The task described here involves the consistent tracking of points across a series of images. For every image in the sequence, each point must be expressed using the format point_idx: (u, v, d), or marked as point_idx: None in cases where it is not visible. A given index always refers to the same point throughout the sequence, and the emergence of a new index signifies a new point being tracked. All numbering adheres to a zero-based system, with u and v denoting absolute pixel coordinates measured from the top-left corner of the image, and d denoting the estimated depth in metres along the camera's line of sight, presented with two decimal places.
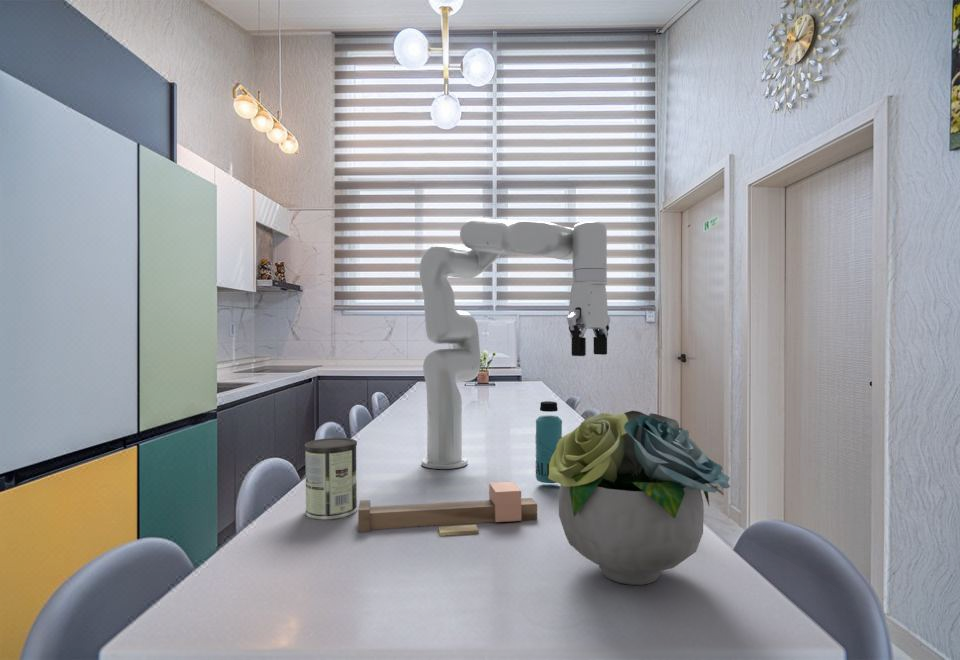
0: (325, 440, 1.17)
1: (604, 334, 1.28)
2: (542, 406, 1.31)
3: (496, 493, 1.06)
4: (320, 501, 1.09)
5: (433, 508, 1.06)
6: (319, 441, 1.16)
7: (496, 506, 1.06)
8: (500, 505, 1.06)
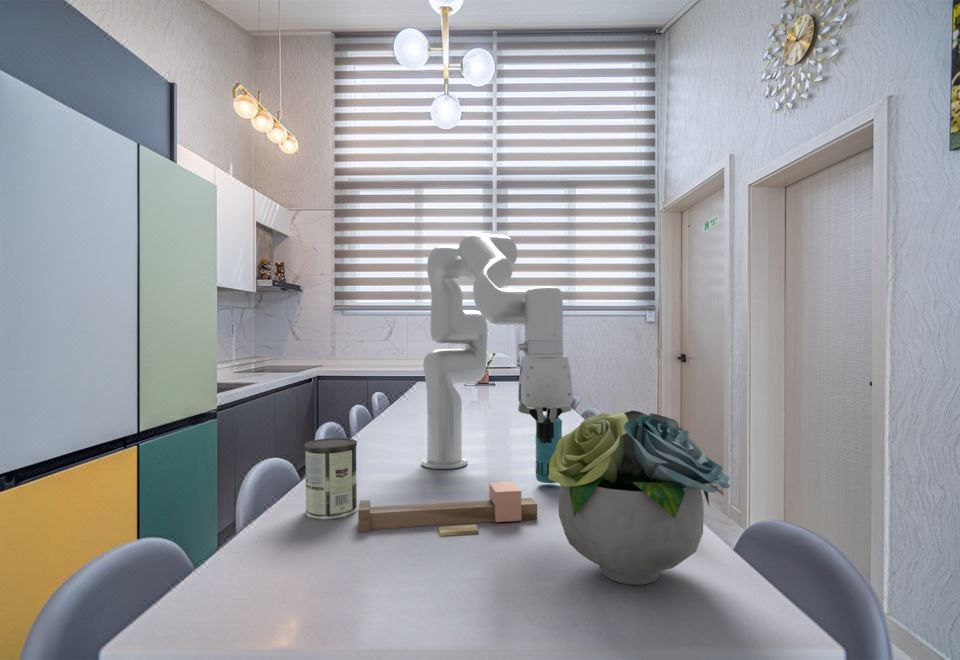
0: (325, 440, 1.17)
1: None
2: None
3: (496, 493, 1.06)
4: (320, 501, 1.09)
5: (433, 508, 1.06)
6: (319, 441, 1.16)
7: (496, 506, 1.06)
8: (500, 505, 1.06)
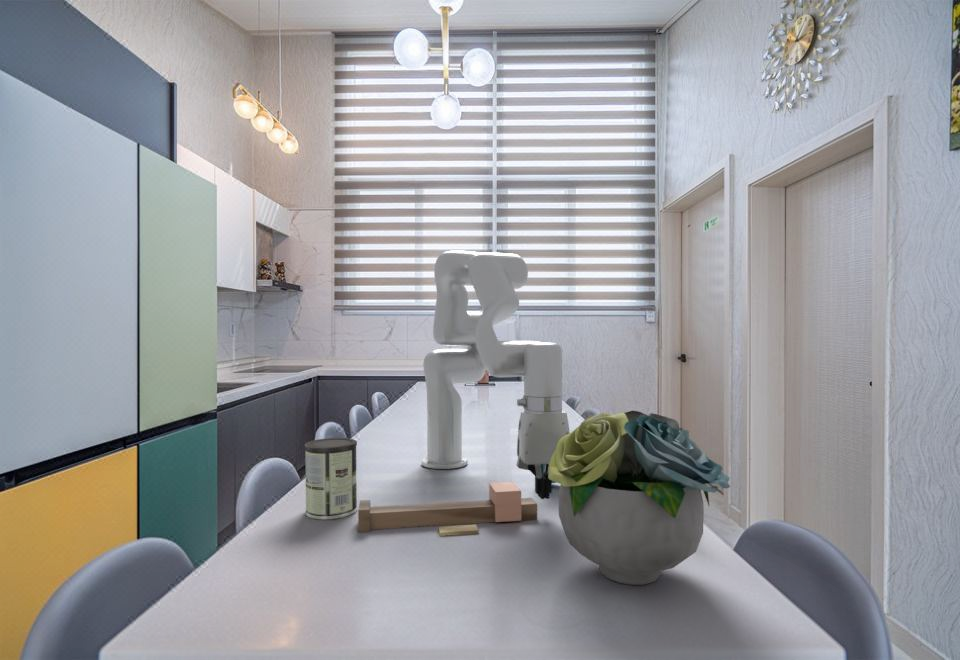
0: (325, 440, 1.17)
1: None
2: None
3: (496, 493, 1.06)
4: (320, 501, 1.09)
5: (433, 508, 1.06)
6: (319, 441, 1.16)
7: (496, 506, 1.06)
8: (500, 505, 1.06)
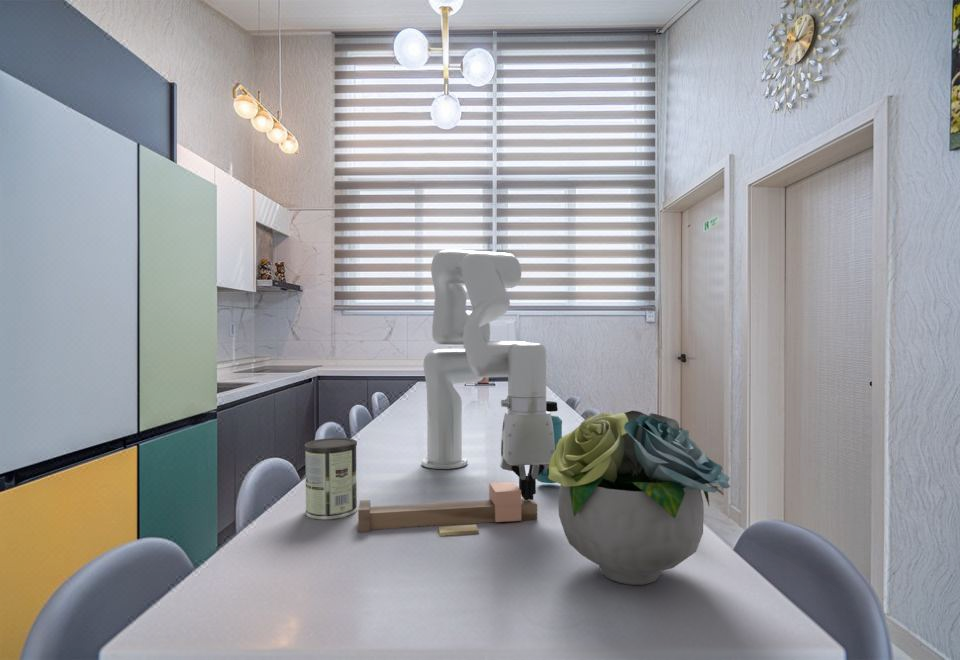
0: (325, 440, 1.17)
1: None
2: None
3: (496, 493, 1.06)
4: (320, 501, 1.09)
5: (433, 508, 1.06)
6: (319, 441, 1.16)
7: (496, 506, 1.06)
8: (500, 505, 1.06)
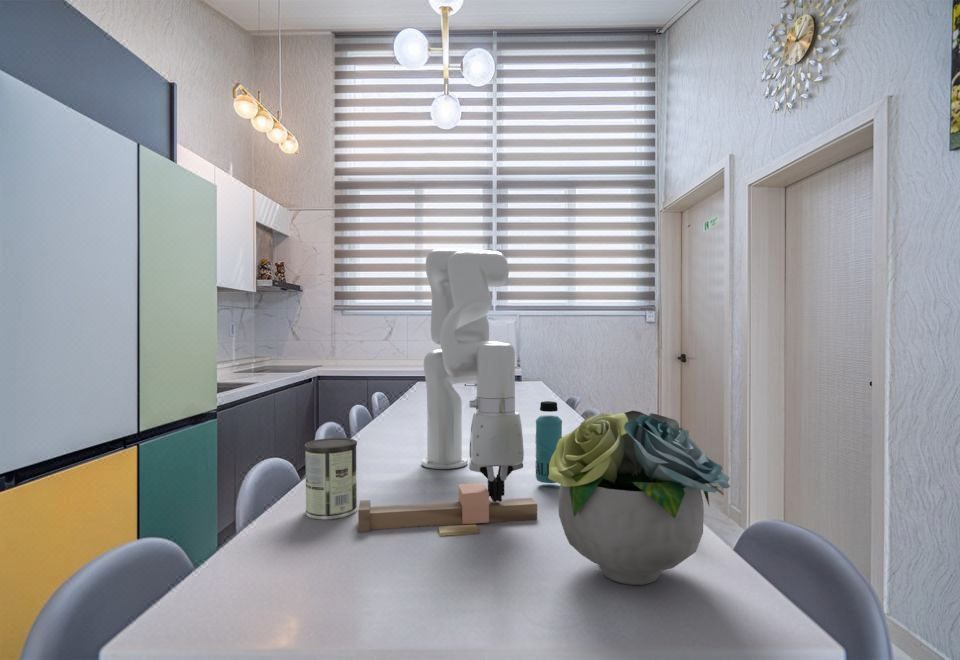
0: (325, 440, 1.17)
1: None
2: (542, 406, 1.31)
3: (463, 495, 1.05)
4: (320, 501, 1.09)
5: (433, 508, 1.06)
6: (319, 441, 1.16)
7: (463, 508, 1.05)
8: (467, 507, 1.05)
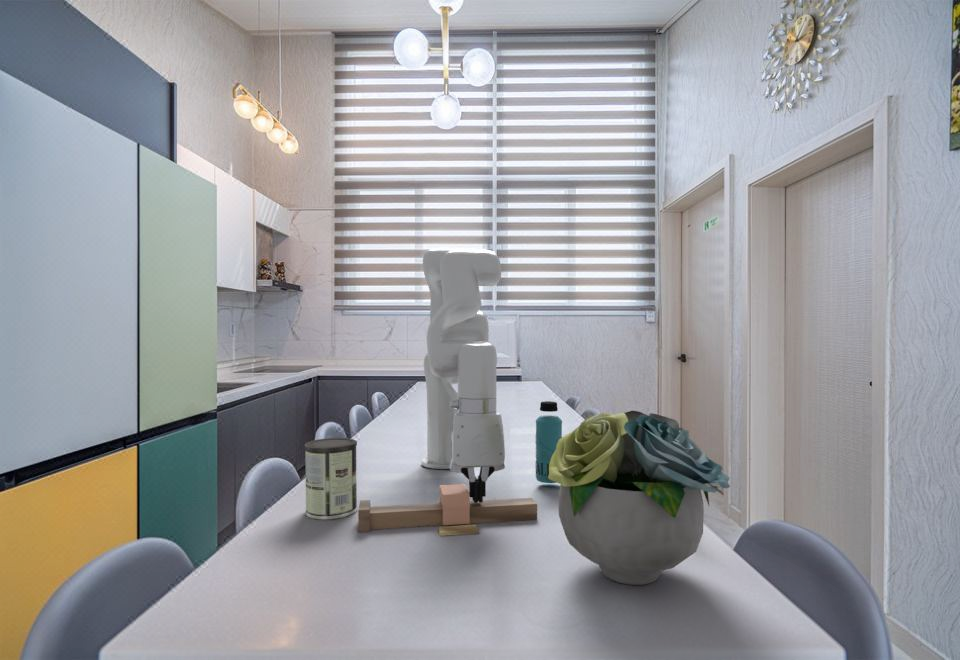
0: (325, 440, 1.17)
1: None
2: (542, 406, 1.31)
3: (443, 496, 1.05)
4: (320, 501, 1.09)
5: (433, 508, 1.06)
6: (319, 441, 1.16)
7: (443, 509, 1.05)
8: (448, 508, 1.05)
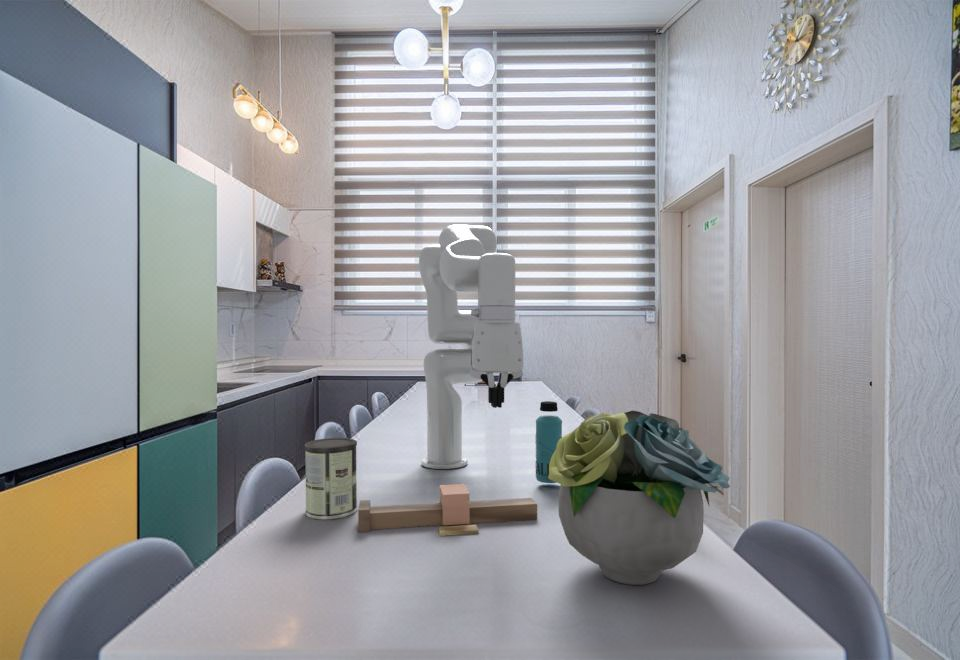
0: (325, 440, 1.17)
1: None
2: (542, 406, 1.31)
3: (443, 496, 1.05)
4: (320, 501, 1.09)
5: (433, 508, 1.06)
6: (319, 441, 1.16)
7: (443, 509, 1.05)
8: (447, 508, 1.05)
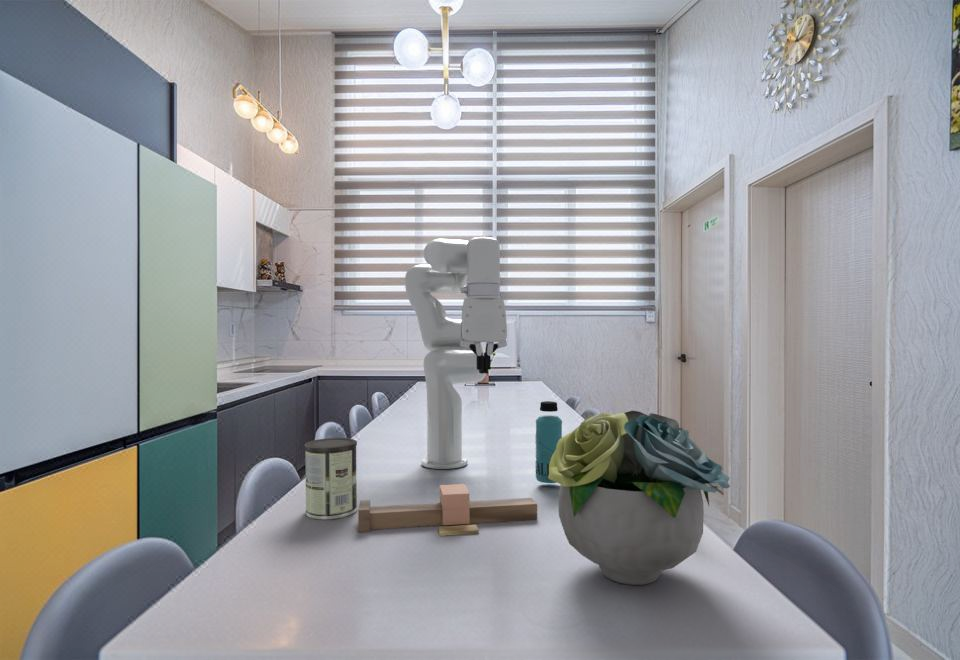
0: (325, 440, 1.17)
1: None
2: (542, 406, 1.31)
3: (443, 496, 1.05)
4: (320, 501, 1.09)
5: (433, 508, 1.06)
6: (319, 441, 1.16)
7: (443, 509, 1.05)
8: (447, 508, 1.05)
